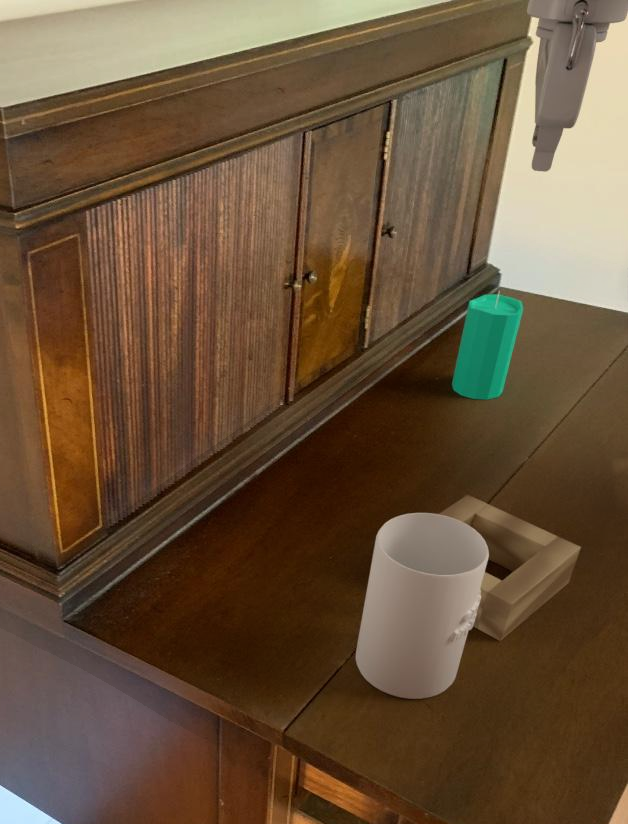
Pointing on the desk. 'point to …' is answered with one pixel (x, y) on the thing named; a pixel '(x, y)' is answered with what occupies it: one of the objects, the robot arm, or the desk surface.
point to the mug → (420, 603)
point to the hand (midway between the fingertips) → (540, 157)
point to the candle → (486, 346)
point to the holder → (515, 565)
